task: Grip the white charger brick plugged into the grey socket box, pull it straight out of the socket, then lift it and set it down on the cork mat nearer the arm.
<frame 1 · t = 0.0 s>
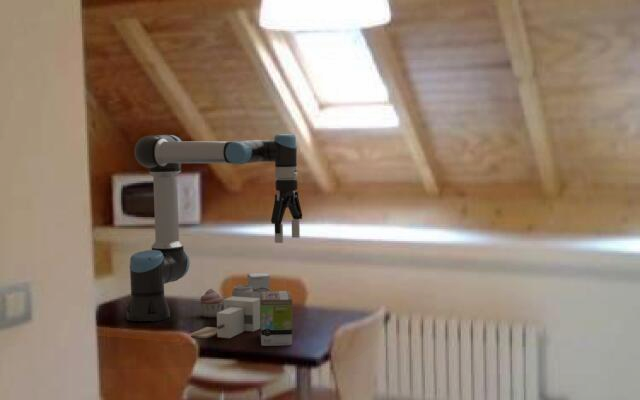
hand: (287, 240, 316), 28 cm above the table, tool pointing down, fingers open, 13 cm apart
can: (243, 320, 320), on the table
tea box: (276, 341, 290), on the table
cork mat: (206, 333, 301), on the table
socket box: (243, 328, 307), on the table
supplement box: (259, 308, 340), on the table
charger plug: (231, 334, 300), on the table
cupcake: (211, 316, 328), on the table
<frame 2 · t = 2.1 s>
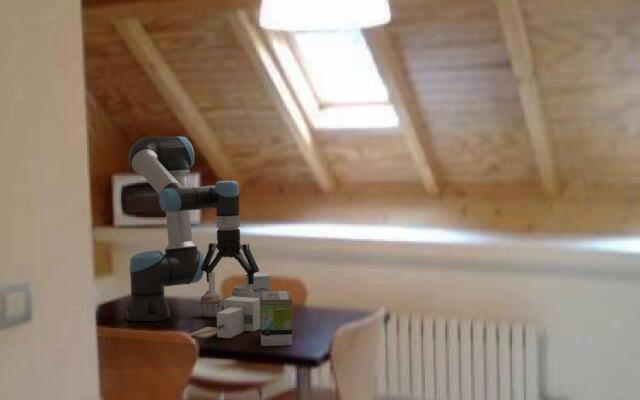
hand: (230, 293, 298), 14 cm above the table, tool pointing down, fingers open, 13 cm apart
nothing on the table moved.
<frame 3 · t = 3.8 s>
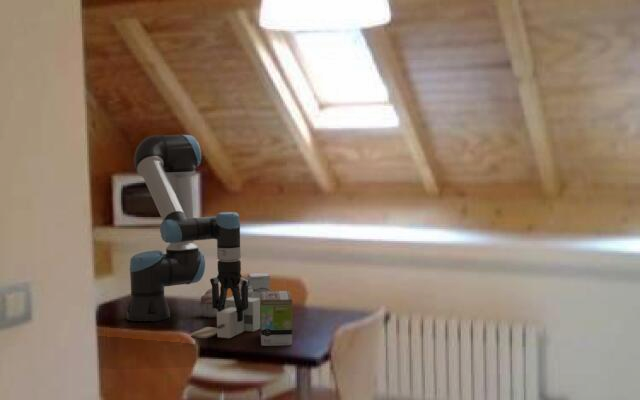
hand: (230, 330, 299), 1 cm above the table, tool pointing down, fingers closed on charger plug, 4 cm apart
charger plug: (231, 334, 299), on the table, touching gripper
everything else where it was.
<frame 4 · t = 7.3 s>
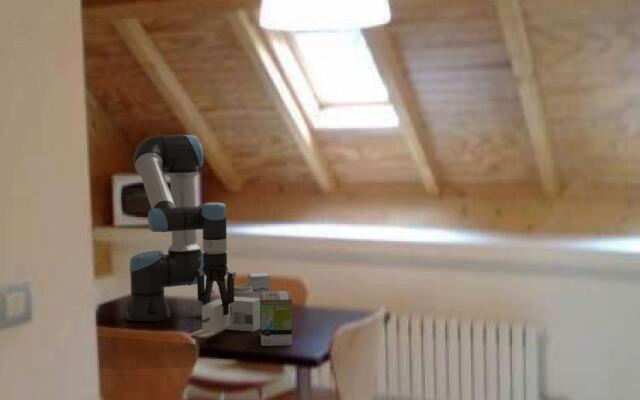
hand: (216, 323, 291), 5 cm above the table, tool pointing down, fingers closed on charger plug, 4 cm apart
charger plug: (216, 327, 292), point 4 cm above the table, touching gripper
everything else where it was.
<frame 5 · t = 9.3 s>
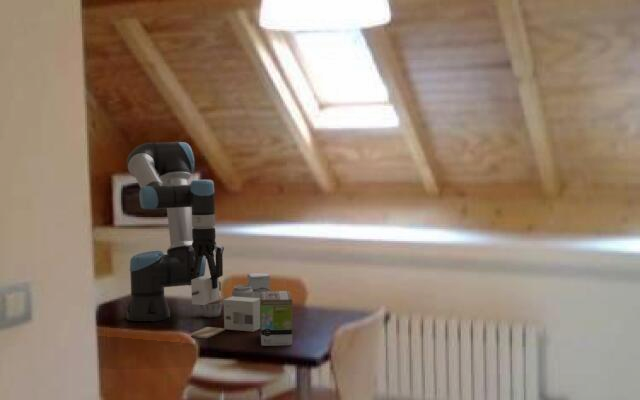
hand: (205, 297, 300), 12 cm above the table, tool pointing down, fingers closed on charger plug, 4 cm apart
charger plug: (205, 301, 300), point 11 cm above the table, touching gripper
everything else where it was.
when the fingers open (3 cm above the table, at t = 11.0 s): charger plug drops 1 cm, resting on cork mat.
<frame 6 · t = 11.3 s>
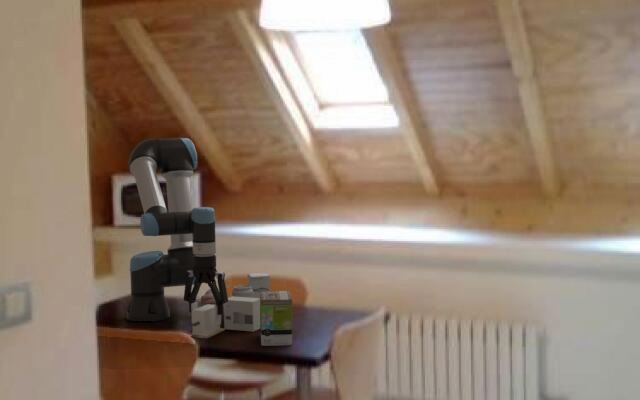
hand: (206, 323, 301), 3 cm above the table, tool pointing down, fingers open, 8 cm apart
charger plug: (206, 331, 301), point 1 cm above the table, touching cork mat
everything else where it was.
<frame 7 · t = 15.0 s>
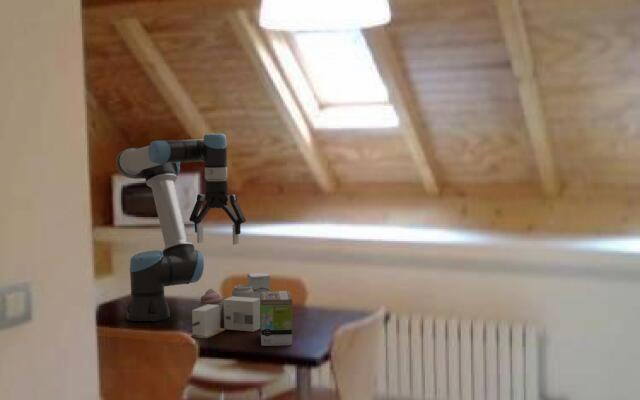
hand: (217, 243, 306), 29 cm above the table, tool pointing down, fingers open, 13 cm apart
nothing on the table moved.
at the end: charger plug inside the target area on the cork mat (0.0 cm from its centre), point 0.6 cm above the cork mat's base; charger plug touching cork mat; charger plug tilted 0° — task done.
